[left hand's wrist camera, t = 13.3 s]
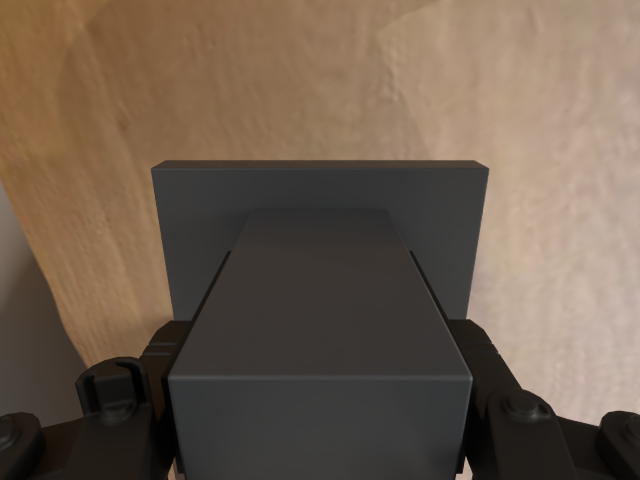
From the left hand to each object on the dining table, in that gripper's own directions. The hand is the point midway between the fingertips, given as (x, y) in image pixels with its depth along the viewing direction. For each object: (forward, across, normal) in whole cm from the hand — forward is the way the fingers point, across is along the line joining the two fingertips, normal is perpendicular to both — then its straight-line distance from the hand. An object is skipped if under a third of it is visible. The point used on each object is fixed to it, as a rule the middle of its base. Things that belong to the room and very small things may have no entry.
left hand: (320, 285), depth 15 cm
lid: (+5, 0, -3) cm, 6 cm away
